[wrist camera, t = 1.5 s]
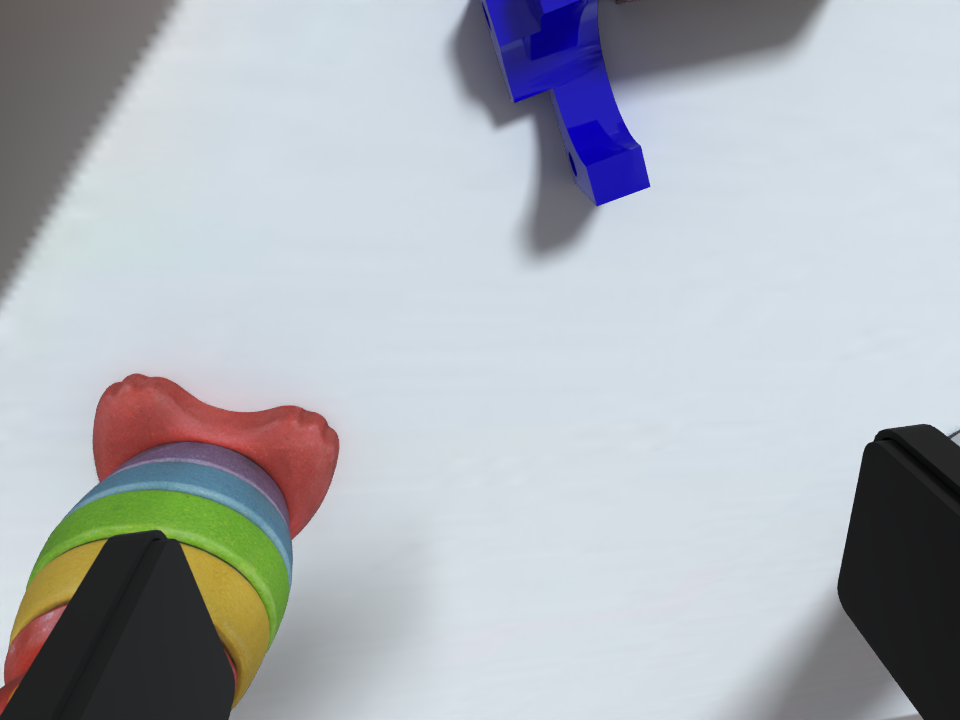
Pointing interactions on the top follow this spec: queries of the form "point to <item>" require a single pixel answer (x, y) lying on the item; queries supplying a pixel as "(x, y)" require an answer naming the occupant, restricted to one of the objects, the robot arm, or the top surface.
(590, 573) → the top surface
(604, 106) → the cable holder
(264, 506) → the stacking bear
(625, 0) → the plinth
